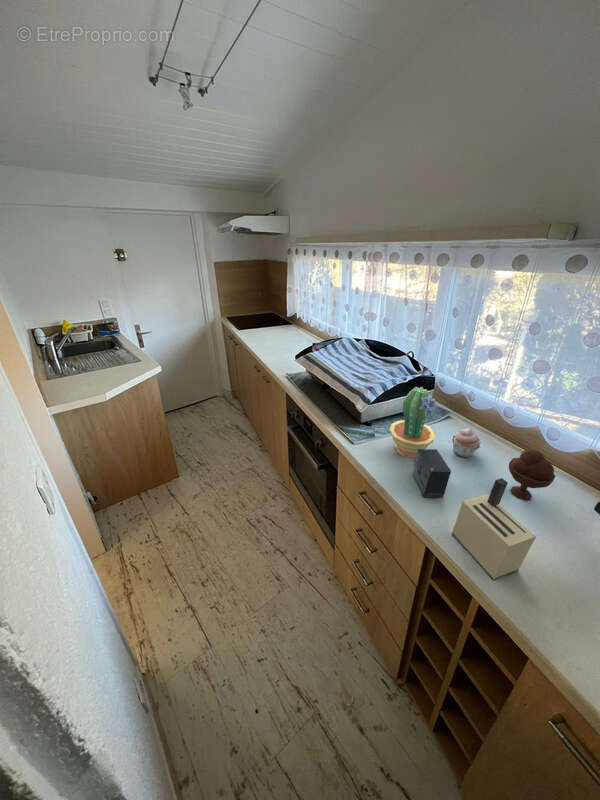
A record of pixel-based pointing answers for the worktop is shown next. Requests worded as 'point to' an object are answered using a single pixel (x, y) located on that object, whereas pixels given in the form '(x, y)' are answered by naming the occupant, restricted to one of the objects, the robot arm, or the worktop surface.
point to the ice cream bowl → (530, 473)
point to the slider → (497, 492)
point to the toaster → (492, 536)
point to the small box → (431, 473)
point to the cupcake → (465, 443)
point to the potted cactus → (414, 423)
